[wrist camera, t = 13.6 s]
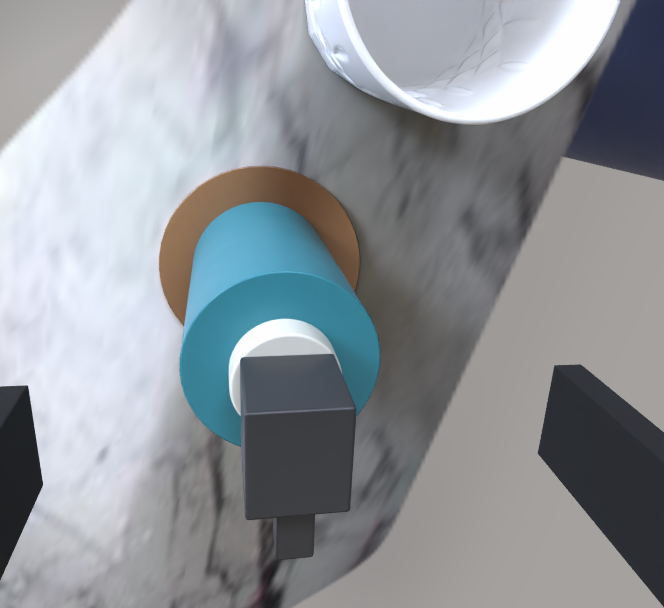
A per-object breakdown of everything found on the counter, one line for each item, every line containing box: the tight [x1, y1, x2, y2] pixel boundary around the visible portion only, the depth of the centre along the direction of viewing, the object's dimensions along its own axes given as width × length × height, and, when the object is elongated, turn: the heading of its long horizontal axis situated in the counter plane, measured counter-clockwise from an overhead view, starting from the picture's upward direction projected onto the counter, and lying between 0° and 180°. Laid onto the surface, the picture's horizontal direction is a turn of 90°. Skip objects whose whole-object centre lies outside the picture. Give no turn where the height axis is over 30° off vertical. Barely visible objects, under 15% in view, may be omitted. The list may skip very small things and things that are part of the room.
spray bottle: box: [180, 202, 380, 560], centre depth 21 cm, size 7×6×14 cm
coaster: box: [159, 166, 360, 325], centre depth 27 cm, size 9×9×1 cm
